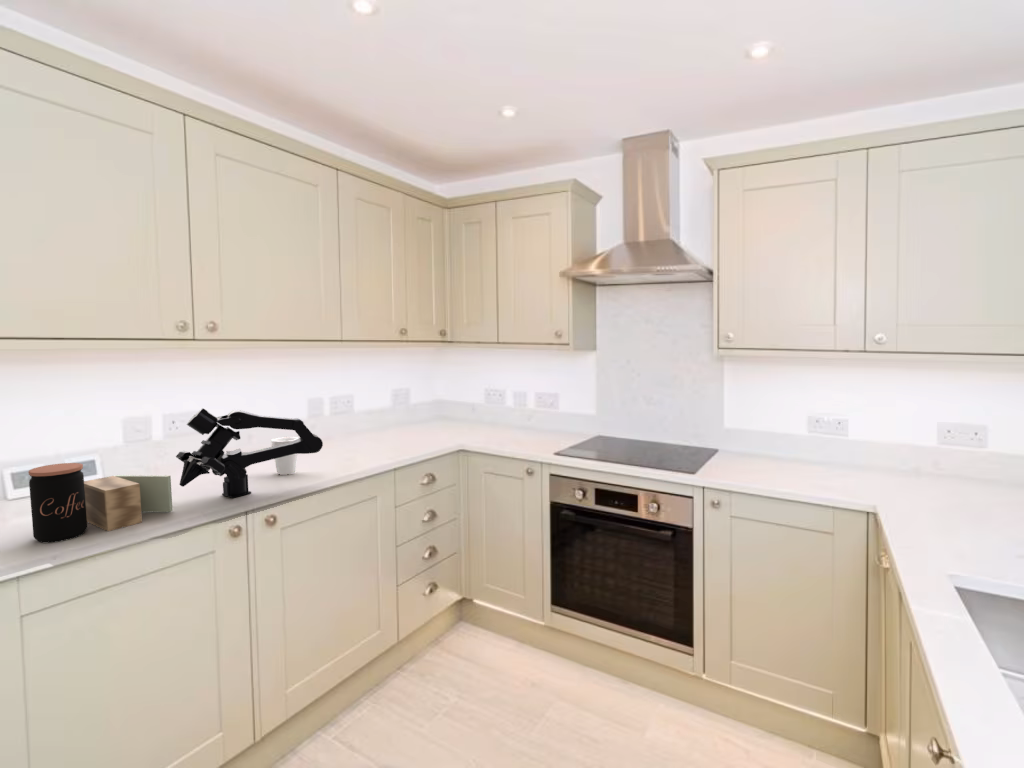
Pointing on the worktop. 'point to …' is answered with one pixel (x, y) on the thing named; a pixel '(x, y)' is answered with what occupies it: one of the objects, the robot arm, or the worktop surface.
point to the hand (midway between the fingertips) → (181, 485)
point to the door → (153, 492)
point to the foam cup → (285, 457)
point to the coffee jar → (57, 502)
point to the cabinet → (112, 502)
